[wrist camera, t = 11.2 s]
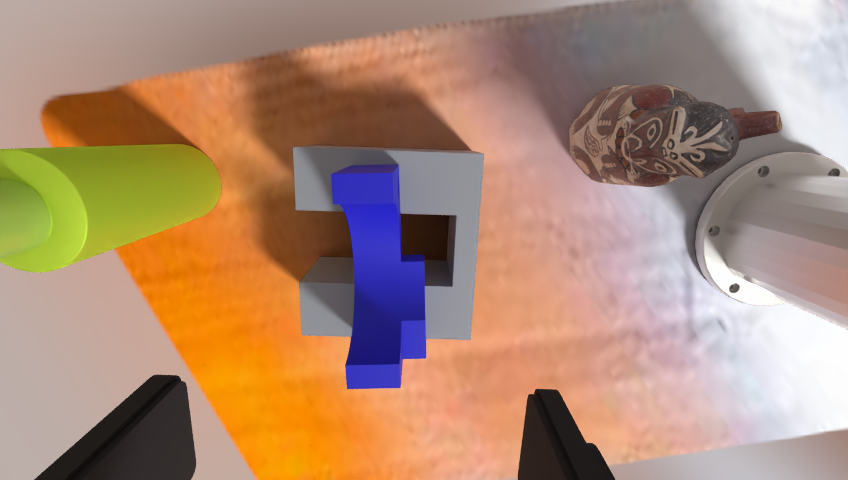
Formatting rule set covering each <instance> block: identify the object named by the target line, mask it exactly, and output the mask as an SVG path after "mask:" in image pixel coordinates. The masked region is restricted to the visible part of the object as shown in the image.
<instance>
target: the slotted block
mask: <svg viewBox="0 0 848 480" xmlns="http://www.w3.org/2000/svg"><path fill="white" fill-rule="evenodd" d="M293 161H294V182H295V203H296V210H308V211H338V212H344V210H343V208H342V207H341V206H340V205H339V204H333V196H332V183H331V174H332V173H334V172H337V171H339V170H342V169H344V168H346V167H349V166H351V165H398V164H399V183H400V214H429V215H449V229H448V248H447V260H424V269H425V319H426V339H456V340H471V327H472V313H473V299H474V285H475V272H476V258H477V244H478V230H479V216H480V202H481V189H482V175H483V161H484V154H482V153H479V152H475V151H467V150H439V149H412V148H384V147H356V146H329V145H312V146H300V147H293ZM299 288H300V309H301V330H302V335H308V336H345V337H351V336H352V327H353V315H354V262H353V257H320V258H319V259H318V260H317V261H316V263H315V264H314V265H313V266H312V267H311V269H310V270H309V271H308V272H307V274H306V275H305V276H304V277H303V278H302V280H301V281H300V282H299Z"/></svg>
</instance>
